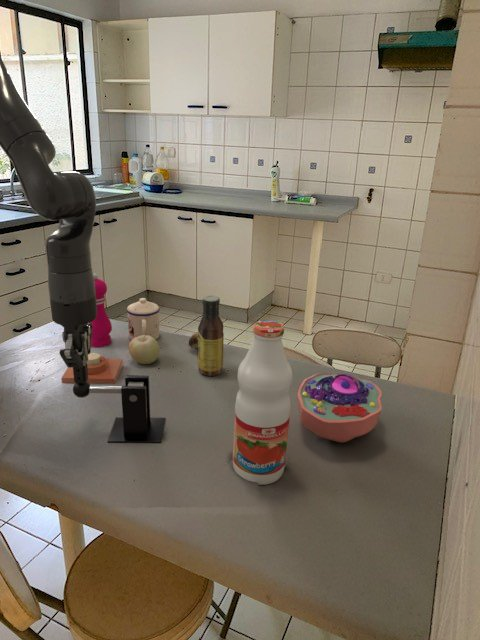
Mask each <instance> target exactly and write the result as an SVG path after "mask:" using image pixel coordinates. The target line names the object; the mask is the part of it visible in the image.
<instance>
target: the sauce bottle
mask: <svg viewBox="0 0 480 640" xmlns="http://www.w3.org/2000/svg"><path fill="white" fill-rule="evenodd" d="M220 301H221V299H220V297H219V296H218V295H214V294H209V295H205V296H203V297H202V301H201V302H202V303H201V304H202V316H201V319H200V321H199V324H198V326H197V332H198V349H197V366H198V371H199V373H200V374H202V375H204V376H207V377H216V376H218V375H219V374H221V373H222V372H223V366H224V343H225V342H224V335H225V334H224V322H223V320H222V319H221V317H220V303H221V302H220Z"/></svg>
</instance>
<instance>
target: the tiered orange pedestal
mask: <svg viewBox="0 0 480 640" xmlns="http://www.w3.org/2000/svg"><path fill="white" fill-rule="evenodd" d="M100 360H101V362H100V363H99V364H97V365H93V366H91V365H87V368H88V380H87V382H88V383H89V384H106V385H107V384H110V385H111V384H115V383H116V382H117V380H119V377H120V375H121V372H122V370H123V368H124V363H123V362H124V361H123V358H106V357H105V356H103V355H100ZM60 380H61V384H75V382H74V374H73V367H71V368H69V367H67V368H66V370H65V371H64V373H63V375H62V376H61V379H60Z"/></svg>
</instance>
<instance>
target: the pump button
mask: <svg viewBox="0 0 480 640" xmlns="http://www.w3.org/2000/svg"><path fill="white" fill-rule="evenodd" d="M100 356H101V354H100V353H98V352H90V354H88V358H89V359H88V362H87V365H91V366H93V365H97V364H99V363H100V362H101V360H100Z"/></svg>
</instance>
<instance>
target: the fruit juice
mask: <svg viewBox="0 0 480 640" xmlns="http://www.w3.org/2000/svg"><path fill="white" fill-rule="evenodd" d="M252 334H253V336H254V337H253V339H252V342H251V344H250V347H249V348H248V351H247V353H246V355H245V357H243V359H242V361H241V362H240V363H239V366H238V369H237V375H236V376H237V383H238V386H239V389H238V391H237V393H236V397H235V404H234V425H233V445H232V446H233V447H232V467H233V471H235V473H236V474H237V475H238V476H239V477H241V478H242V479H244V480H246V481H249V482H252V483H257V486H264V485H265V486H266V485H269V484H270V485H271V484H273V483H275V482H277V481H278V480H280V478H281V477H282V476H283V474H284V472H285V468H286V458H287V450H288V449H287V448H288V437H289V430H290V429H289V428H290V418H291V410H292V409H291V407H292V406H291V405H292V404H291V403H292V401H291V397H290V394H289V391H290V389H291V387H292V384H293V379H294V375H293V374H294V373H293V369H292V366H291V364H290V362H289V360H288V357H287V354H286V351H285V347H284V344H283V340H282V338H283V337H284V334H285V326H284V325H283V324H282V323H281V322H279V321H277V320H273V319H272V320H271V319H263V320H257V321H256V322H254V323H253V326H252Z"/></svg>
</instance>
